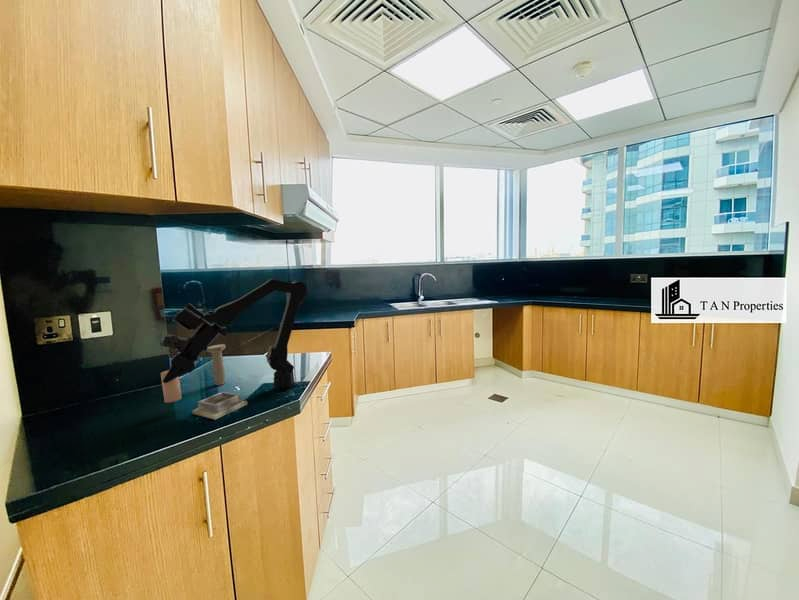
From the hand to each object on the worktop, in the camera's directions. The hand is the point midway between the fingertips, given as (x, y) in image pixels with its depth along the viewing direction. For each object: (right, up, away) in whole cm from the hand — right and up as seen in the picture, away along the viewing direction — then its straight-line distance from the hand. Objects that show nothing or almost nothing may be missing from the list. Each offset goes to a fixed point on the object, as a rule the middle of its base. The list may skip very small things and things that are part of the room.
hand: (164, 380), depth 100 cm
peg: (+2, -6, +1) cm, 7 cm away
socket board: (+16, -10, +3) cm, 19 cm away
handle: (+3, -8, +26) cm, 27 cm away
